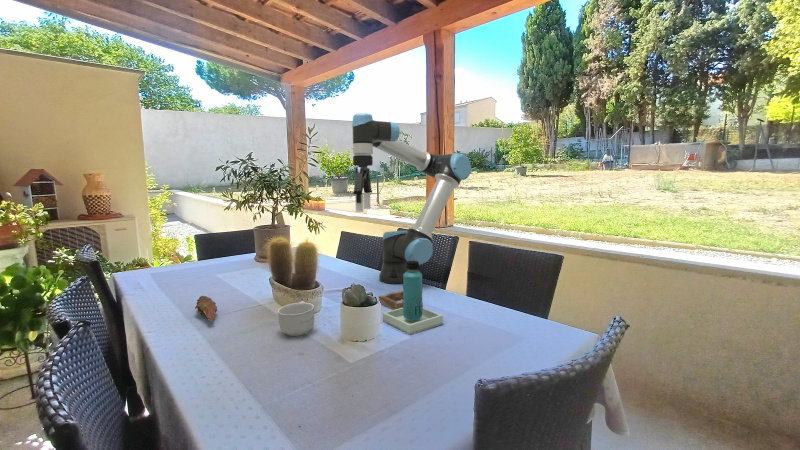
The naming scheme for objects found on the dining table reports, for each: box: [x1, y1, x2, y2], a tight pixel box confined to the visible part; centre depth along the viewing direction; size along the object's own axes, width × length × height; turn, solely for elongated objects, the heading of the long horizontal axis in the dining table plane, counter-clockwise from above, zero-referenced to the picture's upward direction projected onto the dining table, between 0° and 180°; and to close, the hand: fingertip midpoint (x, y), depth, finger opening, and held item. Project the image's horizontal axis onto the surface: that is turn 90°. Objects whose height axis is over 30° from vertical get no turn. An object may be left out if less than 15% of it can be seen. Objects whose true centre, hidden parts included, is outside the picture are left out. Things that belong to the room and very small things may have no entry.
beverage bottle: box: [402, 261, 424, 320], centre depth 125 cm, size 6×7×20 cm
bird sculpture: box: [194, 295, 218, 322], centre depth 132 cm, size 7×25×5 cm, turn 36°
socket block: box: [378, 290, 403, 311], centre depth 144 cm, size 12×12×3 cm
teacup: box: [277, 300, 315, 337], centre depth 119 cm, size 14×11×8 cm
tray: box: [382, 307, 444, 336], centre depth 126 cm, size 14×14×3 cm
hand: (363, 210), depth 150 cm, fingers open, 13 cm apart
